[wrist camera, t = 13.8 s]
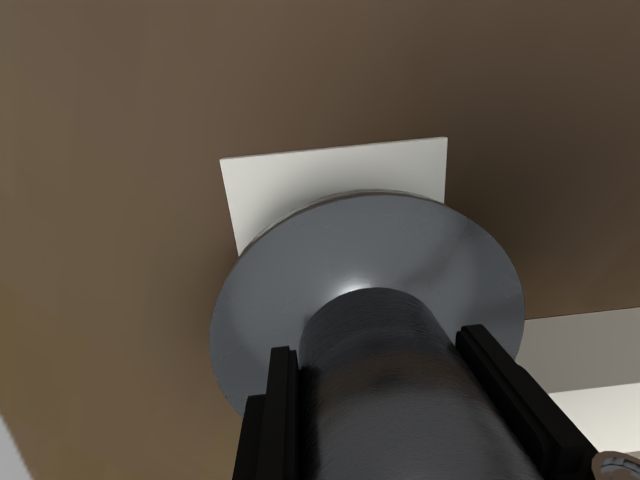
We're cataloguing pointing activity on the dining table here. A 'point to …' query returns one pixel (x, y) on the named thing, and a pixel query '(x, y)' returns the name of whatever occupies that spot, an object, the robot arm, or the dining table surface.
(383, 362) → the grey round knobbed piece
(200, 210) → the dining table surface
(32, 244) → the dining table surface
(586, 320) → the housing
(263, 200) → the mat
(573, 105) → the dining table surface
